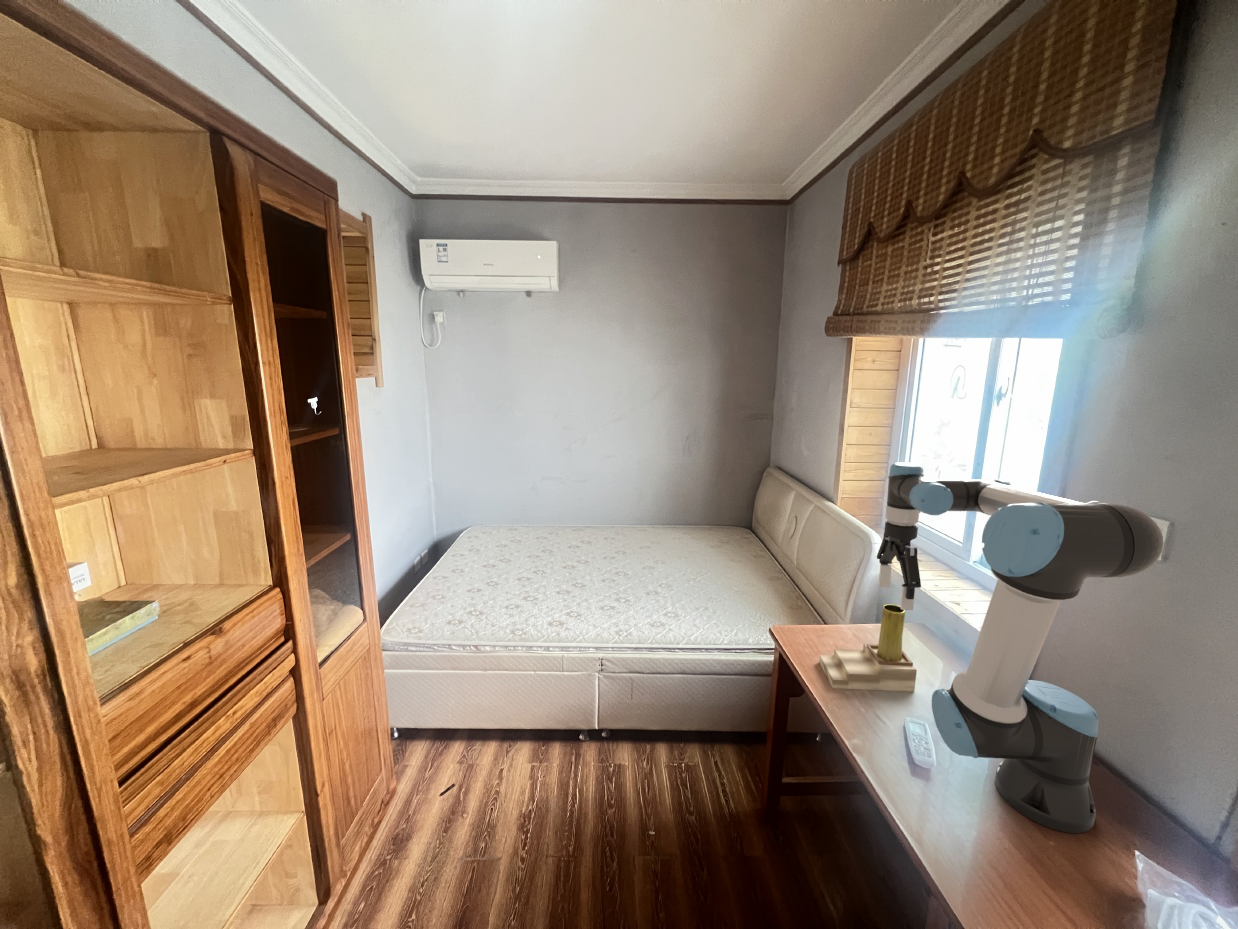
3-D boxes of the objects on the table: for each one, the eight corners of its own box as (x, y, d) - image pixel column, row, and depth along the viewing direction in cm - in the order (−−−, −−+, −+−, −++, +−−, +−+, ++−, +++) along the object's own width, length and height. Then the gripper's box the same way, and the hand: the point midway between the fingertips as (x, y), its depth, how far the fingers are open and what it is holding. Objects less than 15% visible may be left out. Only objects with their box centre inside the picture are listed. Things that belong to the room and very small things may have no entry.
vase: (897, 665, 133) (902, 616, 130) (873, 656, 137) (877, 608, 134) (905, 656, 137) (910, 608, 134) (881, 647, 141) (886, 601, 139)
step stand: (914, 691, 132) (916, 666, 131) (832, 688, 134) (834, 663, 133) (894, 665, 144) (896, 642, 142) (819, 662, 146) (820, 639, 144)
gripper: (942, 537, 117) (933, 620, 121) (895, 509, 142) (889, 579, 145) (909, 537, 118) (901, 619, 122) (867, 508, 142) (862, 578, 146)
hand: (894, 597), depth 134 cm, fingers open, 13 cm apart
